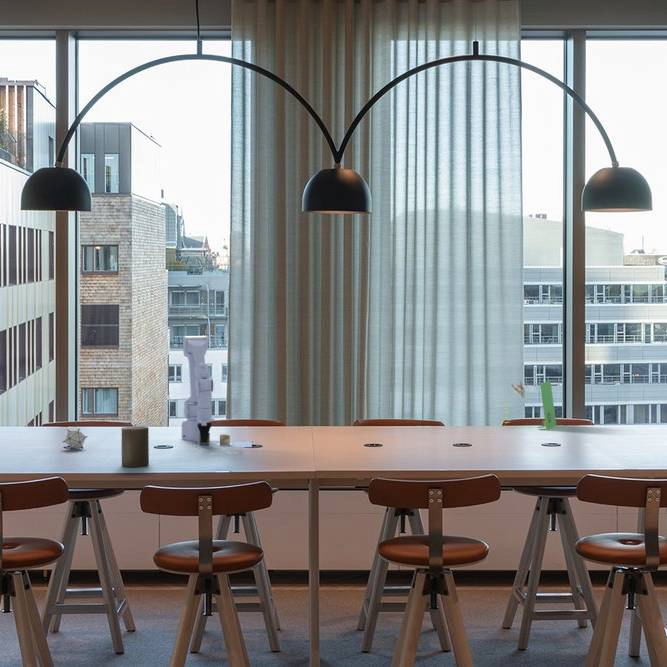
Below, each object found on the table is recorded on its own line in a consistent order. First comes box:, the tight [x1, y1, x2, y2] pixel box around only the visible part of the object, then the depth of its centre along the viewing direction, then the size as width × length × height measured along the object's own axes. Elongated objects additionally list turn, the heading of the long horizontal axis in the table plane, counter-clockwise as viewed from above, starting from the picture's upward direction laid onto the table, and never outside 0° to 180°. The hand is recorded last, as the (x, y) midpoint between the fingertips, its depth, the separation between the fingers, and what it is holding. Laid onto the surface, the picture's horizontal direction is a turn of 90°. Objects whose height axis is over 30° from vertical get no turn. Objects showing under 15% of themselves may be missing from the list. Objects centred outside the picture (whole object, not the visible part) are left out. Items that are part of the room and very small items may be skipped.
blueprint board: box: [196, 441, 253, 449], centre depth 433 cm, size 22×15×1 cm
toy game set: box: [498, 379, 557, 431], centre depth 499 cm, size 22×25×24 cm
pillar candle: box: [121, 425, 150, 468], centre depth 383 cm, size 10×10×15 cm
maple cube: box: [219, 433, 231, 445], centre depth 433 cm, size 4×4×4 cm
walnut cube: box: [198, 432, 211, 444], centre depth 432 cm, size 4×4×4 cm
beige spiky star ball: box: [62, 428, 89, 451], centre depth 423 cm, size 9×8×10 cm
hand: (204, 441), depth 432 cm, fingers closed on walnut cube, 4 cm apart
